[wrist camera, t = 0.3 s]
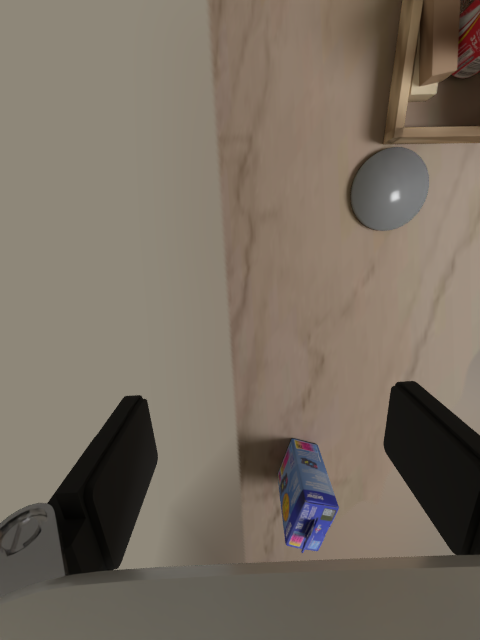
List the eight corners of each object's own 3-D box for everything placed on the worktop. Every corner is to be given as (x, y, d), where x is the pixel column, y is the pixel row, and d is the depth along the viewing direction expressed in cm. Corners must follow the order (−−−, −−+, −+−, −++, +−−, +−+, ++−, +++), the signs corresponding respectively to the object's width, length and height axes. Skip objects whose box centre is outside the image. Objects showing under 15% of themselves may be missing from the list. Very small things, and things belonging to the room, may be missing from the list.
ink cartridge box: (289, 436, 48) (309, 518, 34) (318, 442, 48) (349, 525, 35) (274, 476, 51) (287, 566, 37) (302, 481, 51) (324, 572, 38)
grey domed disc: (355, 149, 34) (357, 147, 33) (433, 147, 34) (436, 146, 33) (346, 231, 37) (348, 231, 36) (417, 230, 37) (420, 229, 36)
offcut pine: (412, 8, 30) (424, -9, 28) (438, 7, 30) (453, -10, 28) (399, 103, 33) (410, 94, 31) (423, 102, 33) (436, 93, 31)
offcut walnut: (420, 1, 28) (434, -18, 26) (445, -6, 28) (461, -25, 26) (419, 86, 30) (432, 76, 28) (442, 81, 30) (457, 70, 28)
